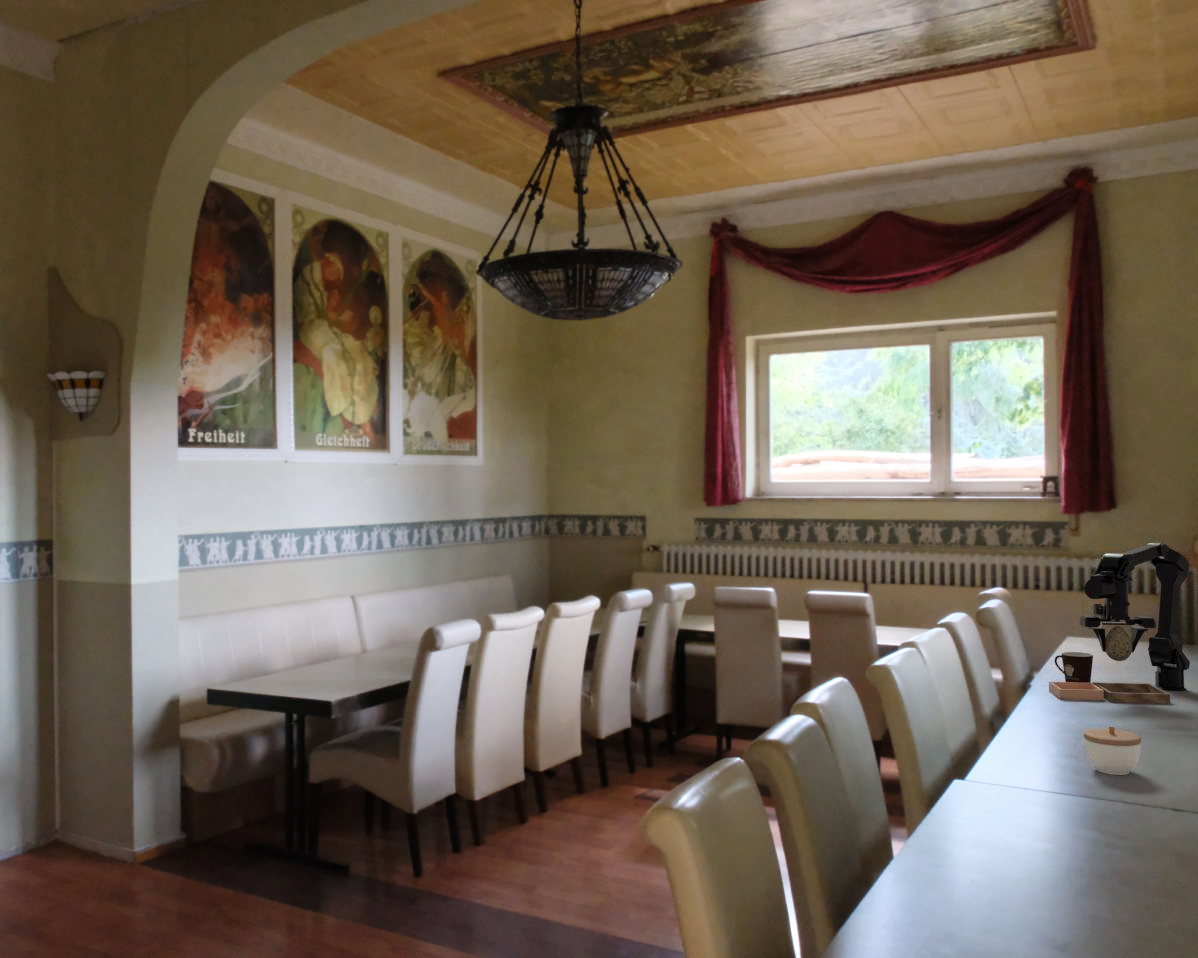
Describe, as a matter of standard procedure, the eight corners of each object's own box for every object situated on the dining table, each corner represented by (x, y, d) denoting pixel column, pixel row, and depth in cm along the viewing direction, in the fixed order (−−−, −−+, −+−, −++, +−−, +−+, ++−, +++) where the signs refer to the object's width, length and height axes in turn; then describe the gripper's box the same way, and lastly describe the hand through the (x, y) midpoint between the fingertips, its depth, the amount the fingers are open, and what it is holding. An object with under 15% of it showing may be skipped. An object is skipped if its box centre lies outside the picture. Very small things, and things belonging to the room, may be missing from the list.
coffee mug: (1099, 690, 288) (1098, 656, 288) (1070, 690, 288) (1069, 656, 288) (1080, 682, 300) (1080, 650, 300) (1052, 682, 300) (1051, 650, 300)
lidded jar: (1140, 781, 198) (1139, 734, 198) (1082, 773, 203) (1080, 728, 204) (1143, 768, 207) (1142, 723, 207) (1087, 761, 213) (1086, 718, 213)
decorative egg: (1136, 663, 274) (1135, 627, 275) (1109, 662, 276) (1108, 627, 276) (1127, 659, 281) (1126, 624, 282) (1101, 658, 283) (1100, 624, 283)
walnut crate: (1150, 691, 284) (1149, 683, 284) (1170, 703, 269) (1170, 694, 269) (1092, 690, 287) (1092, 682, 287) (1109, 701, 272) (1109, 692, 272)
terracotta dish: (1091, 691, 285) (1091, 682, 285) (1103, 700, 274) (1103, 690, 274) (1049, 691, 288) (1048, 681, 288) (1059, 699, 276) (1059, 689, 276)
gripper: (1141, 595, 285) (1142, 648, 285) (1073, 594, 289) (1074, 647, 288) (1156, 598, 274) (1157, 654, 274) (1085, 598, 278) (1086, 652, 277)
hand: (1118, 651), depth 279 cm, fingers closed on decorative egg, 7 cm apart
